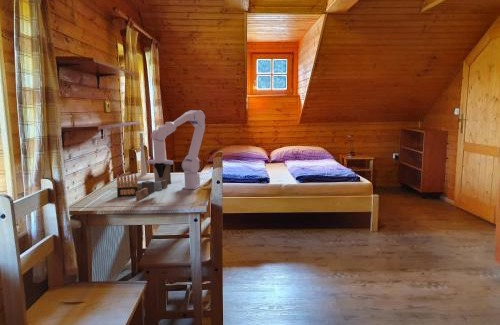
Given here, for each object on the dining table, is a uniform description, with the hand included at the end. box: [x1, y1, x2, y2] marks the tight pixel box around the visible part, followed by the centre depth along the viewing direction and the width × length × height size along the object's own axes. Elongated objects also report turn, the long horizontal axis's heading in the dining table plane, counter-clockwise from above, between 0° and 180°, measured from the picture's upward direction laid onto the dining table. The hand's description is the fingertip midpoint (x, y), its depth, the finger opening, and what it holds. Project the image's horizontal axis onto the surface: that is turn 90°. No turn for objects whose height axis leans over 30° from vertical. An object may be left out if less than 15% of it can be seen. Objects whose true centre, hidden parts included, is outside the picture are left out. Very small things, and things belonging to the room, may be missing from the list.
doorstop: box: [138, 180, 155, 195], centre depth 208 cm, size 8×4×6 cm, turn 57°
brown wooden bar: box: [135, 180, 168, 202], centre depth 205 cm, size 30×2×5 cm, turn 164°
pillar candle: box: [153, 164, 172, 185], centre depth 229 cm, size 10×10×15 cm
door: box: [134, 181, 163, 191], centre depth 213 cm, size 16×1×4 cm, turn 108°
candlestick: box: [136, 132, 155, 182], centre depth 245 cm, size 13×13×30 cm
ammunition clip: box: [116, 173, 139, 198], centre depth 200 cm, size 11×2×12 cm, turn 100°
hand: (161, 177), depth 204 cm, fingers closed
